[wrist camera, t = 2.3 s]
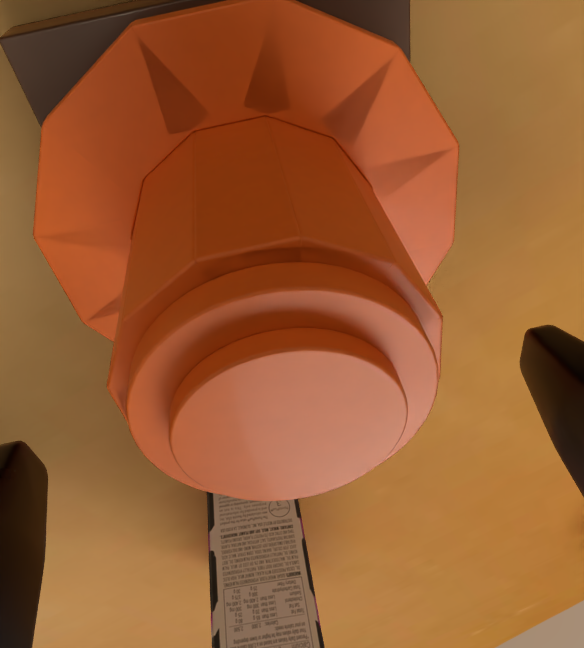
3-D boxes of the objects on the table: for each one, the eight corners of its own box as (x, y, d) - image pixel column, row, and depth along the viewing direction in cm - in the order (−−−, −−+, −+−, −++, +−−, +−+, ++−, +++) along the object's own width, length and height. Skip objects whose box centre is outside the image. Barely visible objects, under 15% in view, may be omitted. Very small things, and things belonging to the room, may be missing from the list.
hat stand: (402, 263, 20) (506, 457, 13) (145, 318, 20) (121, 540, 13) (395, -57, 13) (593, 14, 7) (10, 26, 13) (-172, 179, 7)
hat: (443, 331, 17) (546, 521, 12) (133, 398, 17) (108, 616, 12) (460, -51, 10) (715, 22, 5) (-57, 60, 10) (-295, 240, 5)
